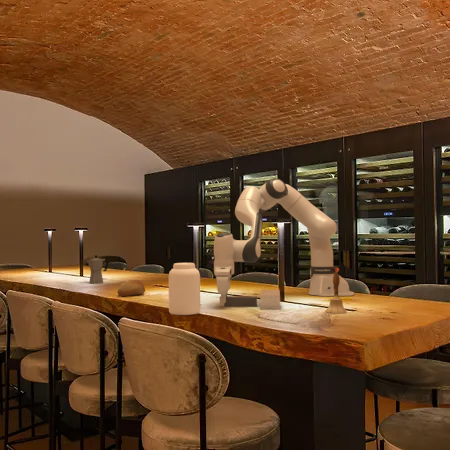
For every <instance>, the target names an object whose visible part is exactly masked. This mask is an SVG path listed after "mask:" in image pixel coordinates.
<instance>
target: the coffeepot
mask: <svg viewBox="0 0 450 450" xmlns="http://www.w3.org/2000/svg"><path fill="white" fill-rule="evenodd" d="M94 257H95V258H91V259H87V260H85V262H86V263H87V264H88V265H89V269H90V275H89V276H90V277H89V284H90V285H97V284H103V283H104V280H103V279H104V278H103V274H102V271H103V272H107V271H108V267H109V263H110V260H109V259H108V258H98V255H94ZM103 262H104V263H105V266H104V267H105V268H104V269H103Z"/></svg>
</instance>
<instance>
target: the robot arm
mask: <svg viewBox="0 0 450 450" xmlns="http://www.w3.org/2000/svg"><path fill="white" fill-rule="evenodd" d="M276 204H279V205H281V206H282V208H283V209H284V210H285V211H286V212H288V214H290V215H291V216H292V217H293V218H294V219H295V220H296V221H297V222H298V223H300V224H301V225H303V226H304V227H306V229H307V232H308V233H307V234H308V239H309V240H308V241H309V246H310V267H309V276H310V284H309V290H308V293H307V294H308V295H311V296H320V297H334V284H333V276H334V273H335V272H338V273H339V271H340V268H339V267H336V266H334V250H333V247H332V242H331V238H333V236H334V235H335V234H336V233H337V230H338V226H337V223H336V222H335V220H333V219H332V218H330V217H329V216H328V214H326V213H324V212H323V211H321V210H320V209H319V208H317V207H316V206H315V205H313V204H312V203H311V202H310V201H309V200H308V199H307V197H305V196H304V195H302V194H301V192H299V191H298V190H297V189H295V188H294V187H293V186H291V185H289V184H287V183H285V182H284V181H283V180H282V179H280V178H277V177H273V178H270V179H269V180H267V181H266V182H265V183H264V184H263V185H261V186H260V187H259V188H258V187H256V186H253V185H251V186H247V187H245V188H244V189H243V191H242V192H241V193H240V196H239V198H238V199H237V202H236V206H235V210H234V215H235V217H236V219H237V220H238V221H239V222H240V223H242V224H243V225H247V226H249V227H251V232H250V238H248V239H245V240H243V239H241V240H237V239H235V238H234V236H233V234H232V233H231V232H219V233H217V234H216V235H215V237H214V242H213V255H214V261H213V274H214V276H215V280H216V290H217V293H218V294H219V295H220V296H221V299H222V303H226V296H228V293H229V291H230V289H231V279H232V275H234V274H235V263H236V262H237V263H239V262H240V263H251V264H254V263H256V262H257V261H258V260H259V259H260V258H261V255H262V246H261V245H262V234H263V225H264V224H263V223H264V222H263V221H264V220H263V217H262V214H261V213H264V212H268V211H269V210H270V209H271V208H273V207H274V206H275V205H276ZM339 278H340V282H339V286H338V296H339V297H342V296H344V297H347V296H350V297H351V296H354V294H355V292H353V291H352V290H351V291H350V286H349V282H348V281H347V280H346V279H344V278H343V277H342V276H341V275H339Z"/></svg>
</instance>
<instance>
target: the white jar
mask: <svg viewBox="0 0 450 450" xmlns="http://www.w3.org/2000/svg"><path fill="white" fill-rule="evenodd" d="M172 267H173V268H171V270H169V273H168V312H169V314H170V315H174V316H191V315H197V314H200V313H201V275H200V274H201V273H200V271H199V270H198V268H196V264H195V263H194V262H176V263H173V265H172Z"/></svg>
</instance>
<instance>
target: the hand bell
mask: <svg viewBox="0 0 450 450" xmlns="http://www.w3.org/2000/svg"><path fill="white" fill-rule="evenodd" d="M339 276H340V275H339V271H338V272H335V273H334V276H333V284H334V296H332V297H331V298H329V299H330V301H329V305H328V307H327V309H326V310H325V313H328V314H334V315H335V314H337V315H339V314H343V315H344V314H347V312H348V311H347V310H346V309H345V308H344V305H343V299H342V298H341V296H338V286H339V282H340V278H339Z"/></svg>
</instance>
